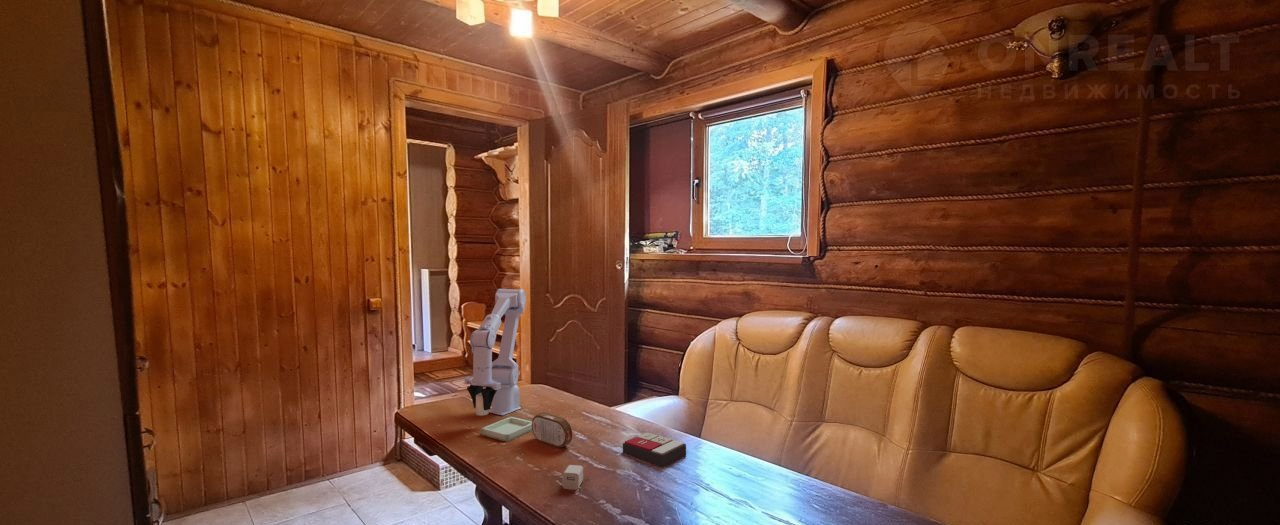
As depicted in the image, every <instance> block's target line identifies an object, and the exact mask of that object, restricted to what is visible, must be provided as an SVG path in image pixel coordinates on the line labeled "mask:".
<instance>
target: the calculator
mask: <svg viewBox="0 0 1280 525" xmlns="http://www.w3.org/2000/svg"><path fill="white" fill-rule="evenodd" d="M622 453H623V454H625V453H626V454H625V455H628V456H630V455H631V456H630V457H633V458H635V459H638V460H642V461H645V462H647V463H650V464H651V465H653V464H654V466H656V467H659V468H663V469H664V468H665V467H668V466H670V465H672V464H674V463H675V462H677V461H680V460H682V459H684V458H685V457H687V444H686V443H684V442H681V441H680V440H679V441H678V440H674V439H673V438H669V437H667V436H662V435H658V434H656V433H655V434H654V433H651V432H644V433H642V434H640V435H637V436H636V437H632V438H629V439H627V440H625V441H624V442H623V443H622Z"/></svg>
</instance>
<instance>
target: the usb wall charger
mask: <svg viewBox="0 0 1280 525" xmlns="http://www.w3.org/2000/svg"><path fill="white" fill-rule="evenodd" d="M583 480H584V467H583V466H582V465H576V464H569V465H568V466H567V468H566V469H565V470H564V472H563V474H562V488H563V489H565V490H575V491H577V490H578V489H579V488H580V486H581V484H582V482H583Z"/></svg>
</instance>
